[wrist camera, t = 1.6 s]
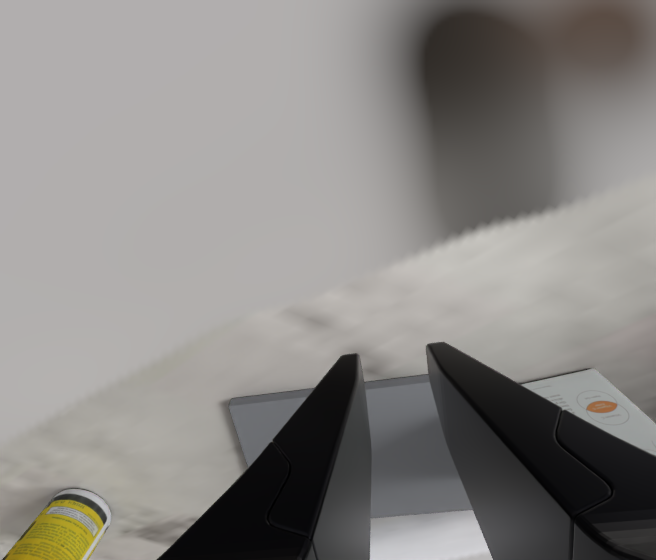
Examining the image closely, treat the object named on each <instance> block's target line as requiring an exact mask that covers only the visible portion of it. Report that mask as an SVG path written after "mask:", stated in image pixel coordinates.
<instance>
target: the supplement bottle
mask: <svg viewBox="0 0 656 560" xmlns="http://www.w3.org/2000/svg"><path fill="white" fill-rule="evenodd" d="M110 522H111V512H110V509H109V507H108V505H107V504H106V502H105V501H104V500H103V499H102V498H100V497H99V496H98V495H96V494H94V493H92V492H89V491H86V490H81V489H68V490H64V491H62V492H60V493H58V494H57V495H56V496H55V497H54V498H53V499H52V500H51V501H50V502H49V504H48V505H47V506H46V507H45V509H44V510H43V511H42V512H41V513H40V515H39V516H38V517H37V518H36V519H35V521H34V522H33V523H32V524H31V526H30V527H29V528H28V529H27V530H26V532H25V533H24V534H23V535H22V536H21V538H20V539H19V540H18V541H17V542H16V544H15V545H14V546H13V547H12V549H11V550H10V551H9V552H8V553H7V555H6V556H5V557H4V558H3V559H2V560H88V559H89V558H90V556H91V554H92V553H93V551H94V549H95V548H96V546H97V545H98V543H99V541H100V540H101V538H102V536H103V535H104V533H105V532H106V530H107V528H108V527H109V525H110Z"/></svg>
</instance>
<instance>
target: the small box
mask: <svg viewBox="0 0 656 560" xmlns="http://www.w3.org/2000/svg"><path fill="white" fill-rule="evenodd" d="M521 385H522V386H524V387H526V388H528V389H530V390H531V391H533V392H535V393H537V394H538V395H540V396H542V397H544V398H546V399H547V400H549V401H551V402H553V403H555V404H556V405H558V406H560V407H561V408H562V409H563V410H567V411H569V412H571V413H573V414H575V415H576V416H578V417H580V418H582V419H584V420H585V421H587V422H589V423H591V424H593V425H595V426H597V427H599V428H601V429H602V430H604V431H606V432H608V433H610V434H612V435H614V436H616V437H618V438H620V439H622V440H624V441H626V442H628V443H630V444H632V445H634V446H636V447H639V448H641V449H643V450H645V451H647V452H649V453H651V454H653V455H655V456H656V423H654V422H653V421H652V420H651V419H650V418H649V417H648V416H647V415H646V414H645V413H644V412H642V411H641V410H640V409H639V408H638V407H637V406H636V405H635V404H634V403H632V402H631V401H630V400H629V399H628V398H627V397H626V396H625V395H624V394H622V393H621V392H620V391H619V390H618V389H617V388H616V387H615V386H614V385H612V384H611V383H610V382H609V381H608V380H607V379H606V378H605V377H604V376H602V375H601V374H600V373H599V372H598V371H597V370H595V369H589V370H585V371H580V372H576V373H571V374H567V375H562V376H558V377H553V378H548V379H544V380H539V381H535V382H530V383H526V384H521Z"/></svg>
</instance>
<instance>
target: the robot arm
mask: <svg viewBox="0 0 656 560" xmlns="http://www.w3.org/2000/svg"><path fill="white" fill-rule="evenodd" d="M426 355H427V364H428V373H429V380H430V385H431V389H432V392H433V396H434V400H435V404H436V407H437V411H438V415H439V419H440V423H441V426H442V430H443V434H444V437H445V440H446V443H447V446H448V449H449V452H450V454H451V457H452V459H453V462H454V464H455V467H456V469H457V472H458V474H459V477H460V479H461V481H462V484H463V486H464V489H465V491H466V494H467V496H468V499H469V501H470V504H471V506H472V509H473V511H474V514H475V516H476V518H477V521H478V523H479V526H480V528H481V531H482V533H483V536H484V538H485V541H486V543H487V546H488V548H489V551H490V553H491V556H492V558H493V560H656V456H655V455H653V454H651V453H649V452H647V451H645V450H643V449H641V448H639V447H636V446H634V445H632V444H630V443H628V442H626V441H624V440H622V439H620V438H618V437H616V436H614V435H612V434H610V433H608V432H606V431H604V430H602V429H601V428H599V427H597V426H595V425H593V424H591V423H589V422H587V421H585V420H584V419H582V418H580V417H578V416H576V415H575V414H573V413H571V412H569V411H567V410H563V409H562V408H561V407H560V406H558V405H556V404H555V403H553V402H551V401H549V400H547V399H546V398H544V397H542V396H540V395H538V394H537V393H535V392H533V391H531V390H530V389H528V388H526V387H524V386H522V385H521V384H519V383H517V382H515V381H513V380H512V379H510V378H508V377H506V376H504V375H503V374H501V373H499V372H497V371H495V370H494V369H492V368H490V367H488V366H486V365H485V364H483V363H481V362H479V361H478V360H476V359H474V358H472V357H470V356H469V355H467V354H465V353H463V352H461V351H460V350H458V349H456V348H454V347H452V346H451V345H449V344H447V343H445V342H437V343H430V344H427V346H426ZM371 471H372V448H371V437H370V427H369V418H368V409H367V399H366V390H365V383H364V378H363V372H362V366H361V361H360V356H359V354H357V353H354V354H347V355H342V356H341V357H340V358H339V359H338V360H337V362H336V363H335V364H334V365H333V367H332V368H331V369H330V370H329V371H328V373H327V374H326V375H325V376H324V377H323V379H322V380H321V381H320V382H319V384H318V385H317V386H316V387H315V388H314V390H313V391H312V392H311V393H310V394H309V396H308V397H307V398H306V399H305V401H304V402H303V403H302V404H301V405H300V407H299V408H298V409H297V410H296V411H295V413H294V414H293V415H292V416H291V418H290V419H289V420H288V421H287V422H286V424H285V425H284V426H283V427H282V428H281V430H280V431H279V432H278V433H277V435H276V436H275V437H274V438H273V439H272V442H270V443H269V444H268V445H267V446H266V448H265V449H264V450H263V451H262V452H261V454H260V455H259V456H258V457H257V458H256V459H255V461H254V462H253V463H252V464H251V465H250V466H249V467H248V469H247V470H246V471H245V472H244V473H243V474H242V475H241V476H240V477H239V478H238V479H237V480H236V482H235V483H234V484H233V485H232V486H231V487H230V488H229V489H228V490H227V491H226V492H225V493H224V494H223V495H222V496H221V497H220V498H219V499H218V500H217V501H216V502H215V503H214V504H213V505H212V506H211V507H210V508H209V509H208V510H207V511H206V512H205V513H204V514H203V515H202V516H201V517H200V518H199V519H198V520H197V521H196V522H195V523H194V524H193V525H192V526H191V527H190V528H189V529H188V530H187V531H186V532H185V533H184V534H183V535H182V536H181V537H180V538H179V539H178V540H177V541H176V542H175V543H174V544H173V545H172V546H171V547H170V548H169V549H168V550H167V551H166V552H164V553H163V554H162V555H161V556H160V557H159V558H158V559H157V560H370V516H371Z"/></svg>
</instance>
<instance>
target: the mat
mask: <svg viewBox="0 0 656 560" xmlns="http://www.w3.org/2000/svg"><path fill="white" fill-rule="evenodd" d="M364 383H365V390H366V399H367V409H368V418H369V427H370V437H371V448H372V471H371V516H370V518H380V517H392V516H404V515H416V514H428V513H439V512H451V511H463V510H473V509H472V506H471V504H470V501H469V499H468V496H467V494H466V491H465V489H464V486H463V484H462V481H461V479H460V477H459V474H458V472H457V469H456V467H455V464H454V462H453V459H452V457H451V454H450V452H449V449H448V446H447V443H446V440H445V437H444V434H443V430H442V426H441V423H440V419H439V415H438V411H437V407H436V404H435V400H434V396H433V392H432V389H431V385H430V380H429V374H428V375H420V376H412V377H404V378H395V379H387V380H379V381H371V382H364ZM313 390H314V389H306V390H298V391H289V392H281V393H273V394H265V395H257V396H249V397H240V398H232V399H231V402H230V404H229V406H228V407H229V410H230V413H231V416H232V419H233V422H234V425H235V429H236V432H237V435H238V438H239V441H240V444H241V447H242V450H243V453H244V456H245V459H246V463H247V466H248V467H249V466H250V465H251V464H252V463H253V462H254V461H255V459H256V458H257V457H258V456H259V455H260V454H261V452H262V451H263V450H264V449H265V448H266V446H267V445H268V444H269V443H270V442H272V439H273V438H274V437H275V436H276V435H277V433H278V432H279V431H280V430H281V428H282V427H283V426H284V425H285V424H286V422H287V421H288V420H289V419H290V418H291V416H292V415H293V414H294V413H295V411H296V410H297V409H298V408H299V407H300V405H301V404H302V403H303V402H304V401H305V399H306V398H307V397H308V396H309V394H310V393H311V392H312V391H313Z"/></svg>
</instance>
